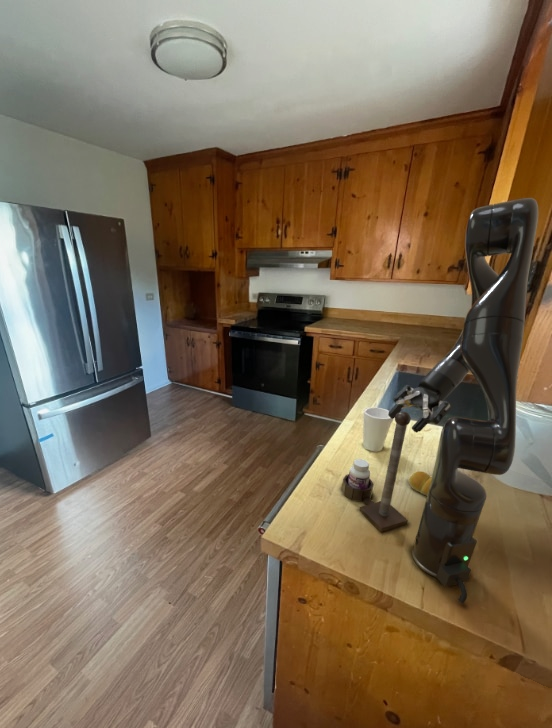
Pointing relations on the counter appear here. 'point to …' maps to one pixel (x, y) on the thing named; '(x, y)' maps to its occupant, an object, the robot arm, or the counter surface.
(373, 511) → the towel stand
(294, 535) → the counter surface
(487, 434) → the robot arm
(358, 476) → the pill bottle
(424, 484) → the bread roll
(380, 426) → the foam cup
